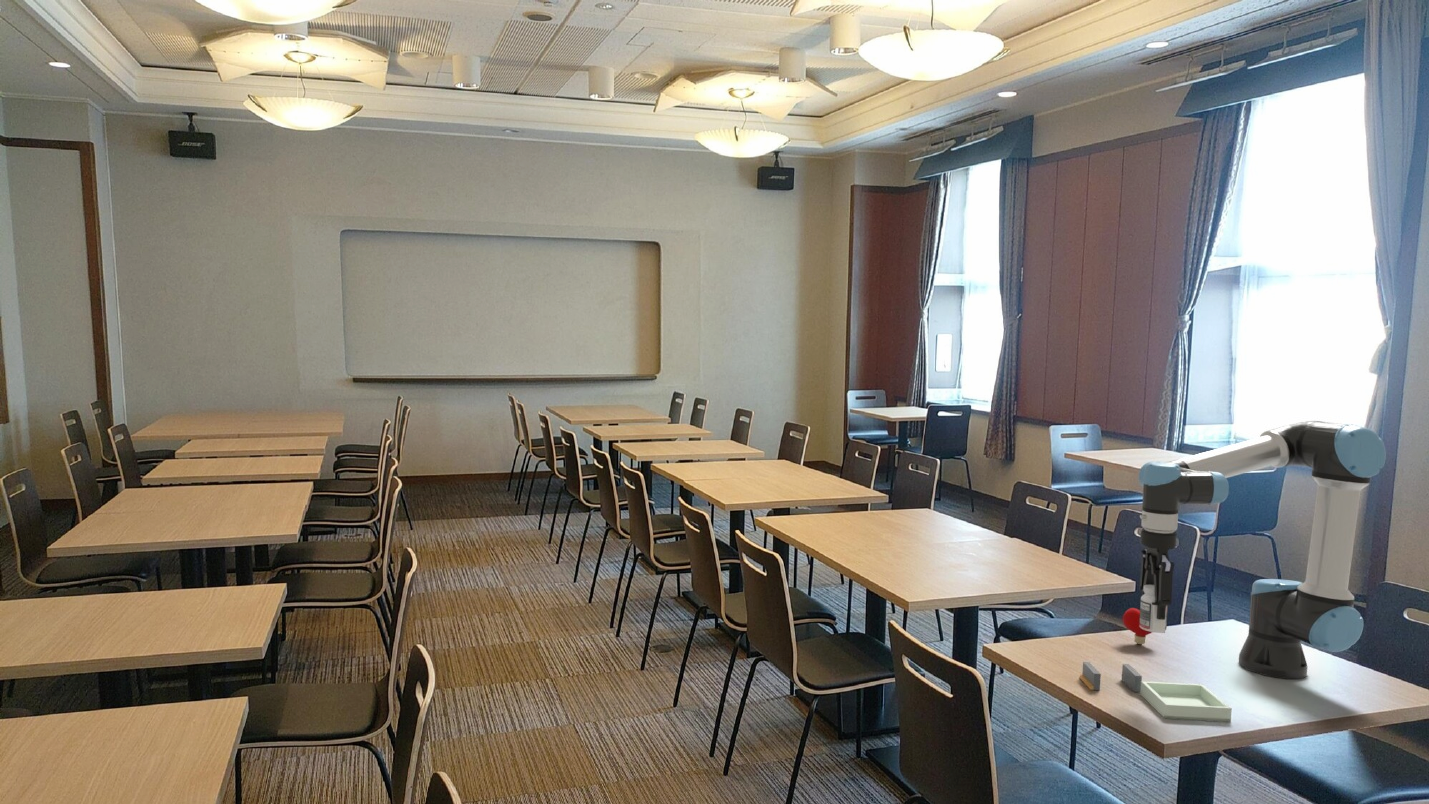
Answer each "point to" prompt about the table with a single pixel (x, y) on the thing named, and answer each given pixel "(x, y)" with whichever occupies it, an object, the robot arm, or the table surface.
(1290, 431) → the robot arm
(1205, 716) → the tray
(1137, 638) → the red heart bulb
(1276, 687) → the table surface
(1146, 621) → the pill bottle
